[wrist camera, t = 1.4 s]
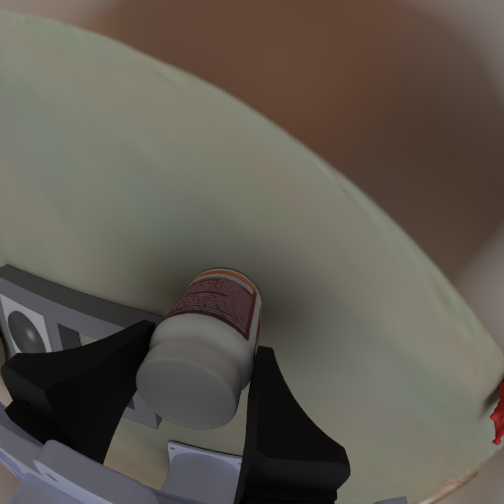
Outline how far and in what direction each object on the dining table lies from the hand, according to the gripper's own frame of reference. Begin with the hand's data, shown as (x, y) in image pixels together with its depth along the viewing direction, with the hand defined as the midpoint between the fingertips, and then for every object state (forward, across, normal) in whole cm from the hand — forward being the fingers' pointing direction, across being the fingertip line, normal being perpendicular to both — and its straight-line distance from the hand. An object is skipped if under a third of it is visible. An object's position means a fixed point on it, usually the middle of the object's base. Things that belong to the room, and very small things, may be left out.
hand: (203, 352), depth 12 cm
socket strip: (+5, +13, +7) cm, 16 cm away
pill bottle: (+5, 0, 0) cm, 5 cm away
